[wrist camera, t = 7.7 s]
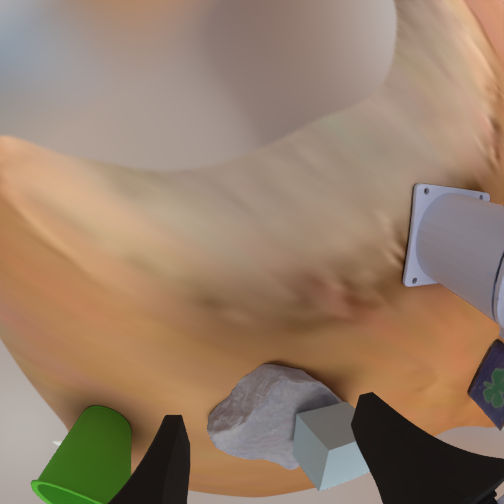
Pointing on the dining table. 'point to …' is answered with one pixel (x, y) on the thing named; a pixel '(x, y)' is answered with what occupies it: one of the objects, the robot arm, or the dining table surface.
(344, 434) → the cube
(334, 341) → the dining table surface
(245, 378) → the stone block
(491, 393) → the flask
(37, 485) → the cup
